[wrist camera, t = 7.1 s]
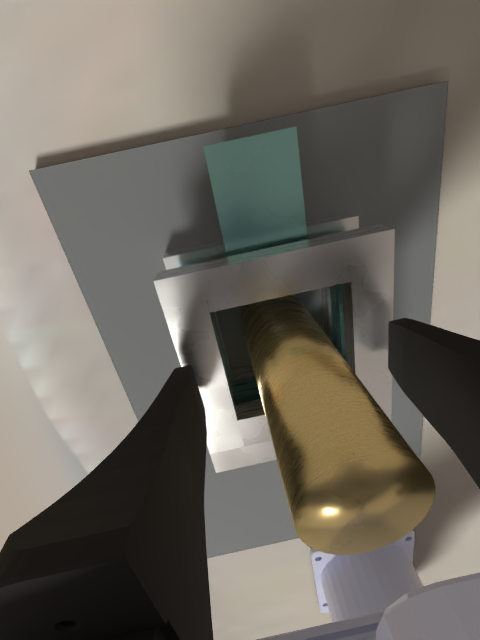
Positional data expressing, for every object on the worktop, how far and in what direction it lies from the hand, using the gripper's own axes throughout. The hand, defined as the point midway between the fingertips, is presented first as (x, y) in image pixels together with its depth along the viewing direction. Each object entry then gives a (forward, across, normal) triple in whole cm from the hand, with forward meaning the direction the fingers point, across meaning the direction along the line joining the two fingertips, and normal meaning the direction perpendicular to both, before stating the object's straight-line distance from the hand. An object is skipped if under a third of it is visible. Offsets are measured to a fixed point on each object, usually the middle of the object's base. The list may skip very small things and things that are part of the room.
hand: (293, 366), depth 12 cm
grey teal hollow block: (+4, 0, -1) cm, 5 cm away
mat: (+5, 0, +5) cm, 7 cm away
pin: (+4, 0, 0) cm, 4 cm away
